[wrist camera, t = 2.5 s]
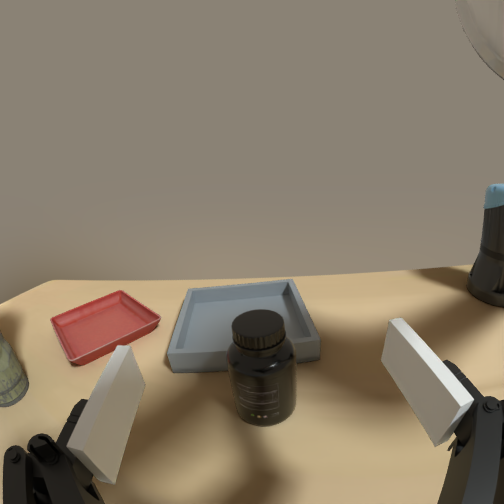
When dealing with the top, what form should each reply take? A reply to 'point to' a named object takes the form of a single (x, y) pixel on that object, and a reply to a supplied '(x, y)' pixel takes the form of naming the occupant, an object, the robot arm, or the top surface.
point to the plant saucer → (102, 326)
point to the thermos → (10, 376)
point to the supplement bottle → (262, 368)
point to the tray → (222, 315)
